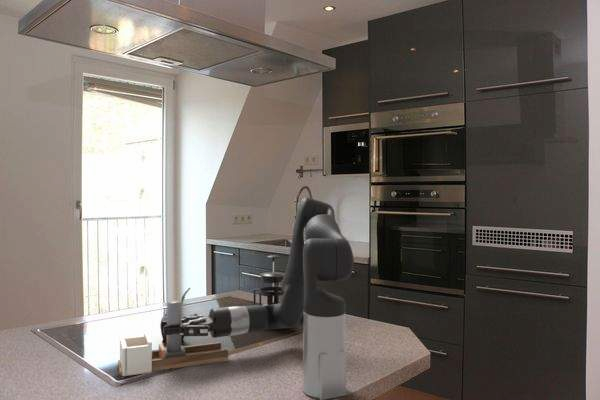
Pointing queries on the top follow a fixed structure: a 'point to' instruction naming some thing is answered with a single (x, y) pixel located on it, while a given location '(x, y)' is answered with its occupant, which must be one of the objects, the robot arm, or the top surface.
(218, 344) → the track
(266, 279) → the french press
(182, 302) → the mate gourd
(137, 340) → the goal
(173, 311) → the grey tall cylindrical piece
